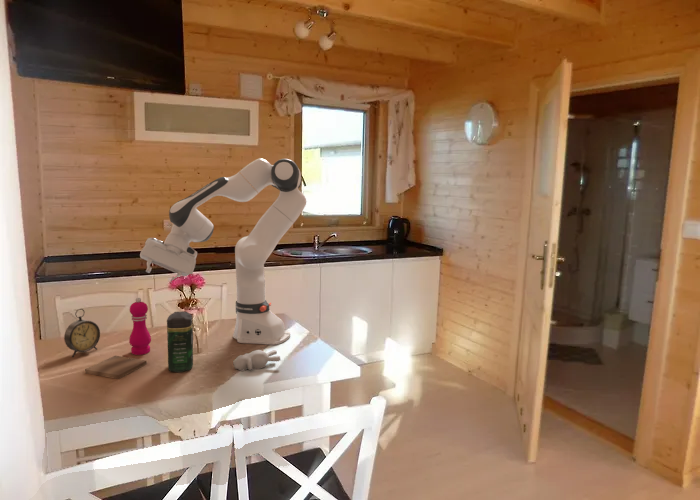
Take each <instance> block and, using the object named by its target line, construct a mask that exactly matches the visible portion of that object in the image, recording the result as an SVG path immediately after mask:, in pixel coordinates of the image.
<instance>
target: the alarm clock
mask: <svg viewBox="0 0 700 500" xmlns="http://www.w3.org/2000/svg"><path fill="white" fill-rule="evenodd" d="M79 310H82V312H83V314H82V315H81V316H78V315H77V313H78V311H79ZM85 312H86V311H85V310H84V309H83V308H78V309H77V310H76V311H75V312H74V313H75V315H74V316H75V317H76V318H77V319H78V320H76V321H73V322H72V323H70V324H69V325H68V327H67V328H66V329H65V332H64V337H63V338H64V343H65V345H66V347H68V348H69V349H70V350H71V351H73V352H72V353H73V354H72V355H71V358H74V357H75V355H76V354H77V352H78V353H87V352H89V351H91V350H92V349H94V350H96V351H97V350H98V347H96V345H98V343H99V341H100V338H101V331H100V327H99V325H98V324H97V323H95V322H94V321H92V320H88V319H87V320H86V319H82V318H83V317H84V315H85Z"/></svg>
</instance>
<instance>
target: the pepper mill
mask: <svg viewBox="0 0 700 500" xmlns="http://www.w3.org/2000/svg"><path fill="white" fill-rule="evenodd" d="M148 311H149V307H148V304H147V303H145V302H144V301H142V298H140V297H136V299H135V302H133V303H132V304H131V305H130V307H129V313H130V314H131V321H132V323H133V325H132V331H131V334H130V336H129V340H128V341H129V345H130V346H131V348H130V353H131V354H132V355H133V356H134V355H135V356H141V355H146V354H149V353H150V352H151V345H150V343H151V342H152V336H151V334H150V332H149V329H148V328H147V323H146V320H147V318H148V317H147V316H148V315H147V313H148Z"/></svg>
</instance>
